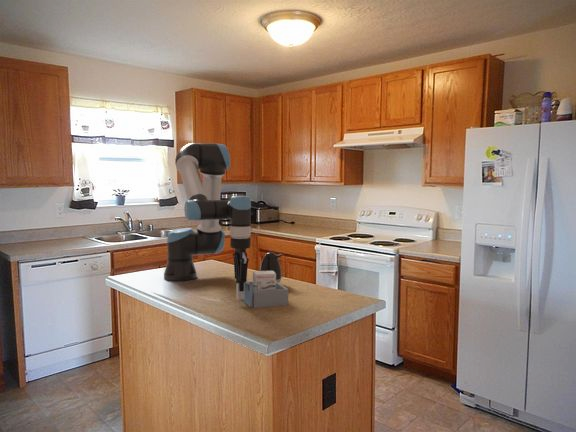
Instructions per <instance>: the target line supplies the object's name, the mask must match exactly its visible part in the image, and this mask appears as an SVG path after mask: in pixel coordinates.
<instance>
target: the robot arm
mask: <svg viewBox="0 0 576 432" xmlns="http://www.w3.org/2000/svg"><path fill="white" fill-rule="evenodd" d="M174 161H175V162H174V163H175V167H176V170H177V171H178V172H179V173H180V174H179V175H180V177H181V181H182V183H183V188H184V192H185V196H186V198H187V200H186V201H185V203H184V207H183V209H184V216H185V218H186V220H189V221H200V223H199V225H197V228H196V230H193V228H191V227H186V228H185V227H184V228H177V229H173V230H171V231H169V232H168V233H167V238H166V239H167V240H166V243H167V263H166V267H165V271H164V273H163V279H164V280H166V281H172V282H184V281H190V280H194V279H196V278H197V273H198V272H197V270H196V267H195V264H194V259H193V256H198V255H199V256H200V255H201V256H202V255H214V254H221V252H222V251H223V250H224V248H225V243H226V238H225V237H226V235H225V234H226V233H225V231H224V230H223V229H222V226H221V225H220V223H219V222H220V220H230V226H229V228H230V231H229V236H230V237H231V238H230V248H231V249H234V252H233V253H232V257H233V267H234V268H233V270H234V279H235V284H236V300H237V301H239V300H242V299H244V292H245V282H246V281H247V282H248V279H247V278H248V266H249V265H248V264H249V260H250V259H249V257H248V253H247V249H250V248H251V246H252V245H251V242H252V240H251V239H252V238H251V233H252V232H251V231H252V230H253V228H252V225H251V224H252V223H251V222H252V221H251V219H252V217H251V213H252V201H251V197H250V196H249V195H232V196H231V197H230V199H221V193H222V178H223V176H225V175H226V171H227V170H229V169H230V167H231V156H230V152H229V149H228V147H227V145H225V144H224V143H223V144H221V143H214V142H213V143H212V142H211V143H210V142H207V143H206V142H191V143H188V144H186V145H184V146H182V147H181V148H180V149H179V150H178V151H177V154H176V156H175V160H174ZM200 174H201V175H200ZM201 176H202V178H201Z"/></svg>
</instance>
